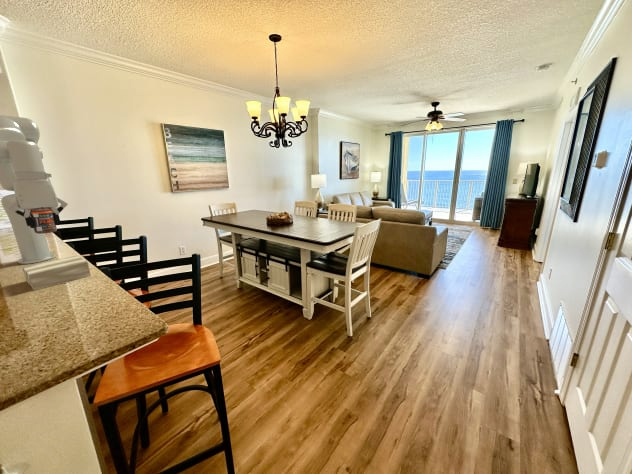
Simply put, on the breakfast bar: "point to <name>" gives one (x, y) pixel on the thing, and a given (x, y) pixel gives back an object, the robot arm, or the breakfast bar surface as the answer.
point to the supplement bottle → (43, 220)
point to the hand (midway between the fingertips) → (44, 225)
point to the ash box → (56, 272)
